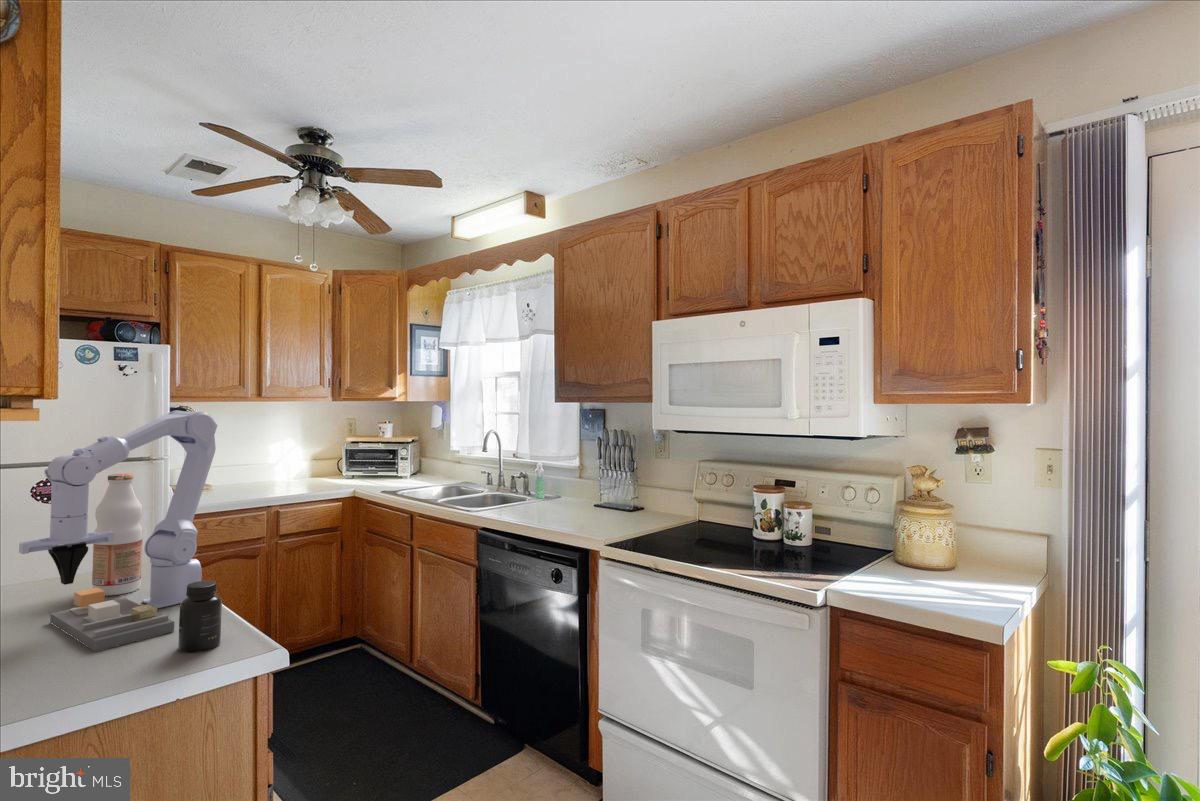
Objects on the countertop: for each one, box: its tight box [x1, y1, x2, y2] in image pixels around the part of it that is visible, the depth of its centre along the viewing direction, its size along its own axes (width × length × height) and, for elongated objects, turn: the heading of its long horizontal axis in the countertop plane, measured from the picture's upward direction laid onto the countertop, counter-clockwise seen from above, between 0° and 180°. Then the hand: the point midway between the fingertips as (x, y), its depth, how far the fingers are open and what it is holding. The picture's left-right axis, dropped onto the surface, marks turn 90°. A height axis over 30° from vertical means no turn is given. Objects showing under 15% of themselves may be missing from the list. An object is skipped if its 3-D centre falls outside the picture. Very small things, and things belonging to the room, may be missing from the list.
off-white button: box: [88, 599, 120, 621], centre depth 127 cm, size 4×4×2 cm
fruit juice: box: [91, 473, 144, 597], centre depth 151 cm, size 9×9×28 cm
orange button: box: [73, 587, 106, 608], centre depth 131 cm, size 4×4×2 cm
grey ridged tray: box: [49, 597, 175, 652], centre depth 127 cm, size 13×24×3 cm, turn 56°
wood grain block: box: [131, 604, 158, 622], centre depth 126 cm, size 3×4×2 cm
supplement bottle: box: [178, 580, 223, 654], centre depth 119 cm, size 7×7×12 cm
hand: (67, 583), depth 125 cm, fingers closed
